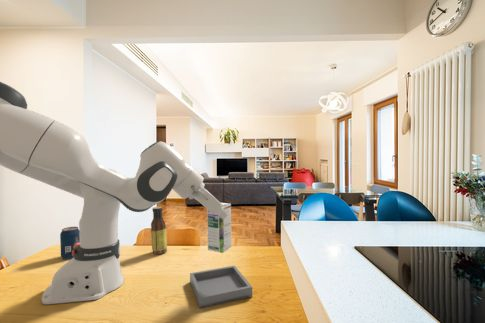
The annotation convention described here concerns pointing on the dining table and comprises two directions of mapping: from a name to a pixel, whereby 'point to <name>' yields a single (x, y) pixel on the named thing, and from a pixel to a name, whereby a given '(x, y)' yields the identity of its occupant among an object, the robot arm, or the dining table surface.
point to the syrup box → (219, 230)
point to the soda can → (68, 241)
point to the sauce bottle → (158, 232)
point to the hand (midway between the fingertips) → (220, 213)
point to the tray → (219, 286)
